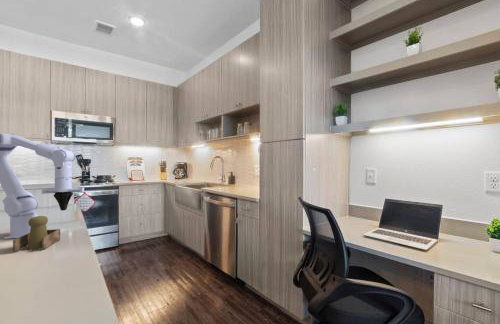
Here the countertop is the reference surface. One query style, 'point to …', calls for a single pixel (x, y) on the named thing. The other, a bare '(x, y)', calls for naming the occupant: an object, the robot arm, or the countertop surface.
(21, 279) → the countertop surface
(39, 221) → the cork
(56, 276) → the countertop surface
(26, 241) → the wooden bracket shelf
